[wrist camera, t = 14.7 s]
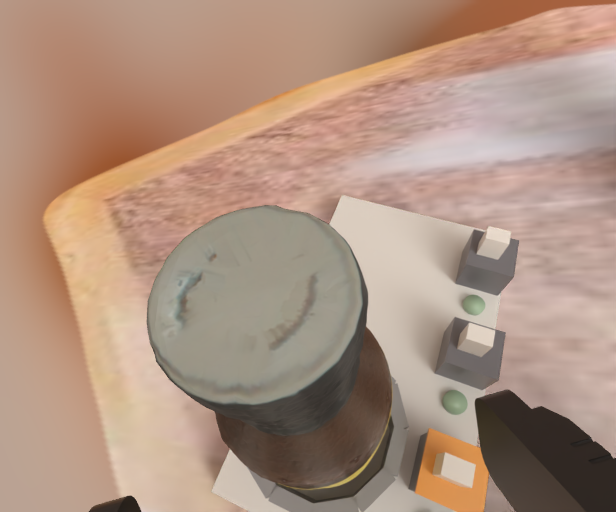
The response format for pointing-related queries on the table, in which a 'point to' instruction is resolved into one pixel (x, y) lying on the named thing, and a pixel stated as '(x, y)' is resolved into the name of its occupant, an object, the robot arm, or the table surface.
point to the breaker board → (413, 365)
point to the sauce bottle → (275, 344)
